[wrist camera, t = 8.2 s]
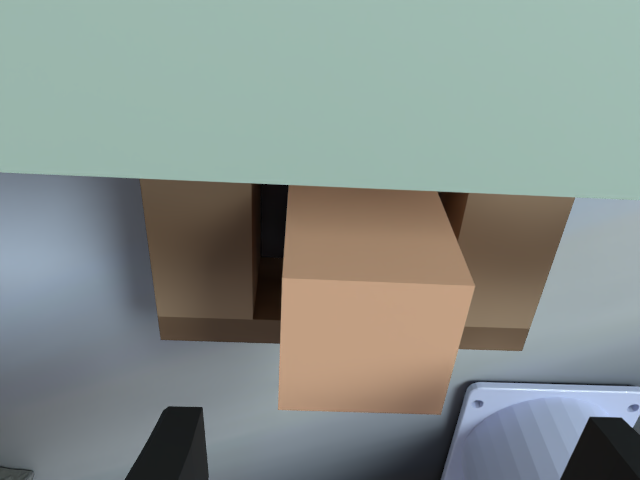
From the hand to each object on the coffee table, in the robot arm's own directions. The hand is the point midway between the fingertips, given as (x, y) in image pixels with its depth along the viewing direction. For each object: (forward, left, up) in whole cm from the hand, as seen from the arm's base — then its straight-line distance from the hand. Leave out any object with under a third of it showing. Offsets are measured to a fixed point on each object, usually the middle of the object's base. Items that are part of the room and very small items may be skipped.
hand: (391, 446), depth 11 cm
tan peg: (0, 0, -10) cm, 10 cm away
